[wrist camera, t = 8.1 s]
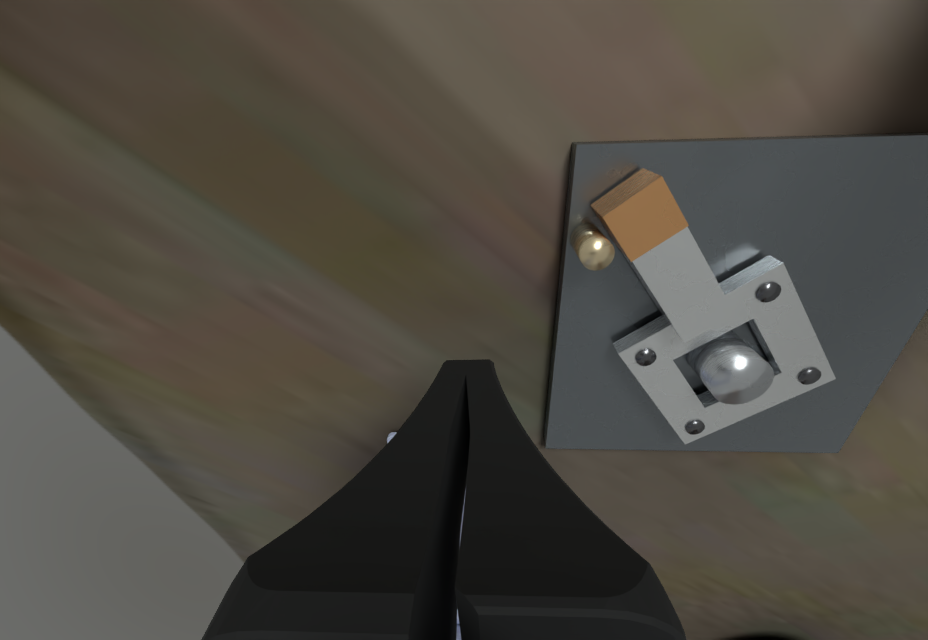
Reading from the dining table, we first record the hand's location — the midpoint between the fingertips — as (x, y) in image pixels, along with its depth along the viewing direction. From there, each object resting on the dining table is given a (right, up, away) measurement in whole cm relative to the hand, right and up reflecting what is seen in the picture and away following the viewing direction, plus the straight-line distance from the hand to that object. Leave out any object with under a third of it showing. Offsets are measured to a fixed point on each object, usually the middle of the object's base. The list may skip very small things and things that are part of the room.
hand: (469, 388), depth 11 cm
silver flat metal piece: (+11, +3, +8) cm, 14 cm away
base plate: (+14, +2, +10) cm, 17 cm away
